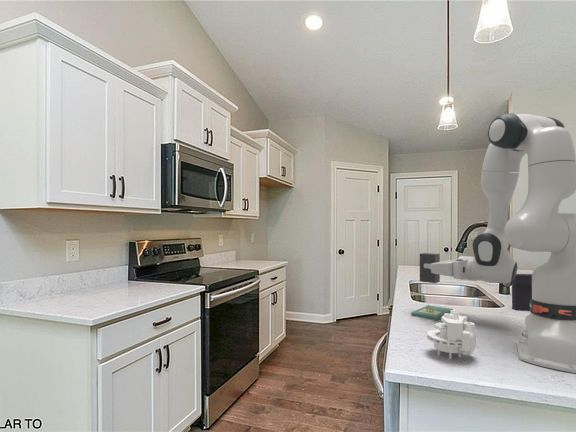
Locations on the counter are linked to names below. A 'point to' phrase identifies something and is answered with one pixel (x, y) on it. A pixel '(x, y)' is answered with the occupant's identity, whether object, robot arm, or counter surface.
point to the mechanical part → (453, 334)
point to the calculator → (522, 292)
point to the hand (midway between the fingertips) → (427, 264)
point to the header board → (431, 312)
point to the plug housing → (425, 272)
